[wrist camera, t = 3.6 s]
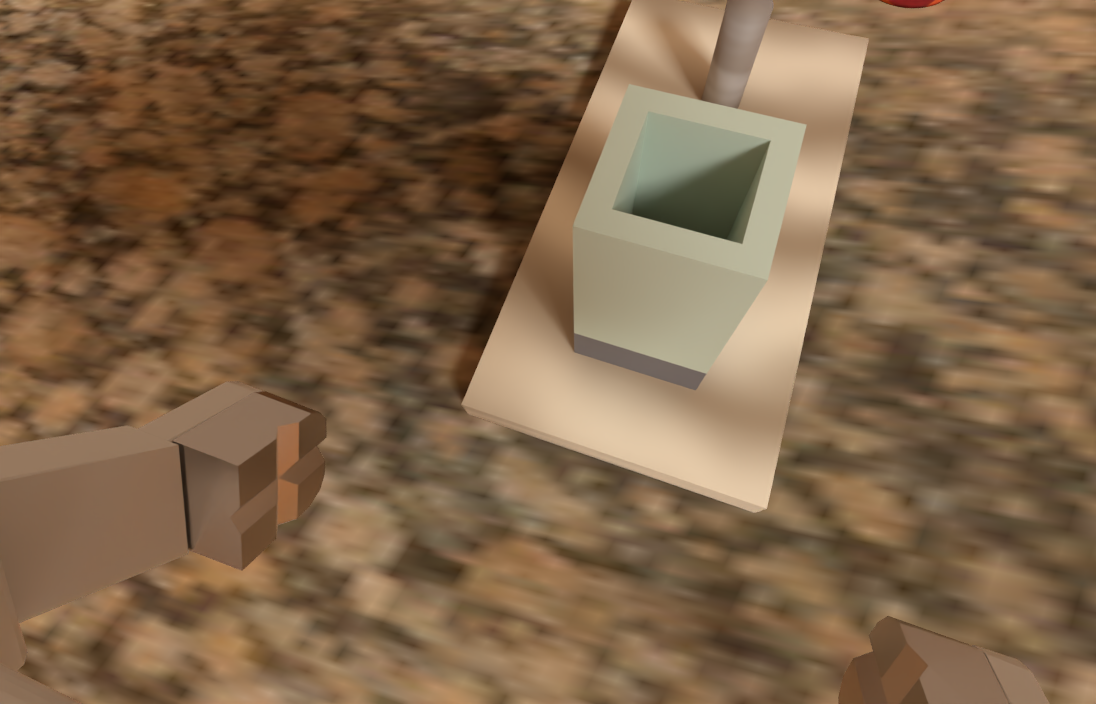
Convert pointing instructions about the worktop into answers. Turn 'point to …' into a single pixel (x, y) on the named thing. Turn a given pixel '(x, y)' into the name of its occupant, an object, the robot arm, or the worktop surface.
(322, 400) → the worktop surface
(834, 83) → the pin board
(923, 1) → the paper cup
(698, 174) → the sleeve
